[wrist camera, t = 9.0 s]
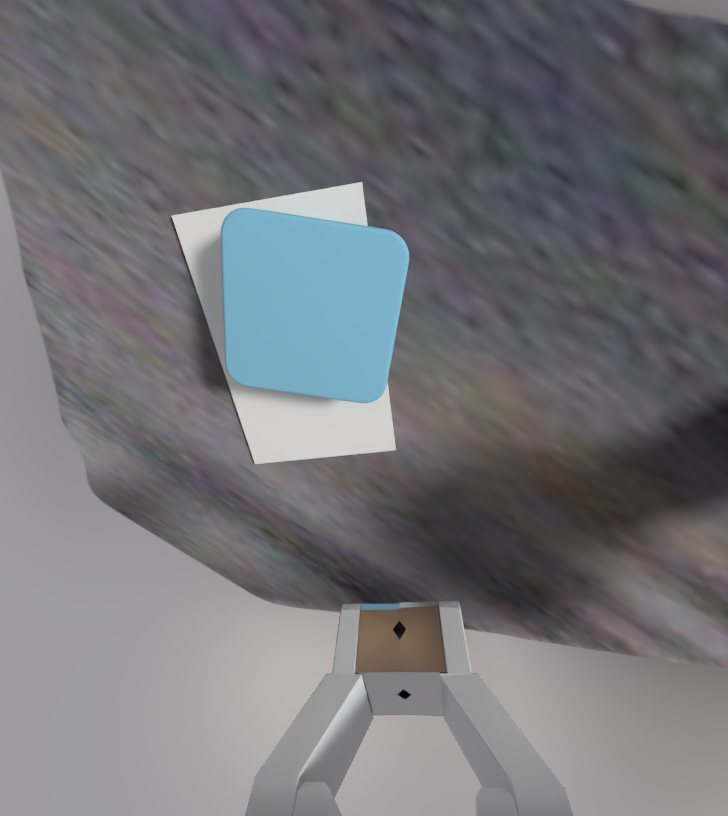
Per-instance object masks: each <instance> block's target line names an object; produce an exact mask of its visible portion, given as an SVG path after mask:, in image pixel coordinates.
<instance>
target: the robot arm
mask: <svg viewBox="0 0 728 816" xmlns="http://www.w3.org/2000/svg"><path fill="white" fill-rule="evenodd" d="M372 715H428V716H444V719H445V721H446V722H447V725H448V726H449V728H450V730H451V732H452V733H453V735H454V737H455V739H456V741H457V742H458V744H459V746H460V747H461V750H462V751H463V753H464V755H465V757H466V758H467V760H468V762H469V764H470V765H471V767H472V769H473V771H474V773H475V774H476V776H477V778H478V779H479V781H480V783H481V785H482V787H483V788H481V789H480V791H479V793H478V794H477V796H476V816H573V814H572V810H571V807H570V803H569V800H568V797H567V794H566V790H565V788H564V787H563V785H562V784H561V783H560V781H559V780H558V779H557V777H556V776H555V775H554V773H553V772H552V771H551V769H550V768H549V767H548V766H547V764H546V763H545V761H544V760H543V759H542V757H541V756H540V755H539V753H538V752H537V751H536V749H535V748H534V747H533V746H532V744H531V743H530V741H529V740H528V739H527V737H526V736H525V735H524V733H523V732H522V731H521V729H520V728H519V727H518V726H517V724H516V723H515V721H514V720H513V719H512V718H511V716H510V715H509V713H508V712H507V711H506V710H505V708H504V707H503V706H502V704H501V703H500V702H499V700H498V699H497V698H496V696H495V695H494V694H493V692H492V691H491V690H490V688H489V687H488V686H487V685H486V683H485V682H484V680H483V679H482V678H481V676H480V675H479V674H478V673H472V672H471V666H470V660H469V654H468V648H467V643H466V637H465V631H464V625H463V620H462V614H461V608H460V604H459V602H458V601H439V602H438V601H425V602H404V603H383V604H343V605H342V608H341V611H340V619H339V626H338V633H337V641H336V648H335V656H334V663H333V670H332V674H326V675H325V677H324V678H323V680H322V681H321V682H320V684H319V685H318V687H317V688H316V690H315V691H314V692H313V694H312V695H311V697H310V698H309V700H308V701H307V703H306V704H305V705H304V707H303V708H302V710H301V711H300V712H299V714H298V715H297V717H296V718H295V720H294V721H293V723H292V724H291V725H290V727H289V728H288V730H287V731H286V733H285V734H284V736H283V737H282V738H281V740H280V741H279V743H278V744H277V746H276V747H275V749H274V750H273V751H272V753H271V754H270V756H269V757H268V758H267V760H266V761H265V763H264V764H263V766H262V767H261V768H260V770H259V772H258V773H257V774H256V776H255V778H254V782H253V786H252V790H251V794H250V798H249V802H248V806H247V810H246V814H245V816H342V815H341V813H340V811H339V808H338V806H337V804H336V802H335V799H334V798H335V796H336V794H337V792H338V790H339V788H340V786H341V783H342V781H343V779H344V777H345V775H346V773H347V771H348V769H349V767H350V765H351V762H352V761H353V759H354V757H355V755H356V753H357V750H358V748H359V746H360V744H361V742H362V740H363V738H364V736H365V734H366V732H367V730H368V728H369V726H370V724H371V721H372V719H373V716H372Z"/></svg>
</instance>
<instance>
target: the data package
mask: <svg viewBox="0 0 728 816" xmlns="http://www.w3.org/2000/svg"><path fill="white" fill-rule="evenodd" d="M221 259H222V287H223V316H224V345H225V366H226V369H227V372H228V374H229V375H230V377H231V378H232V379H233V380H234V381H236V382H237V383H239V384H240V385H243V386H247V387H253V388H260V389H267V390H274V391H281V392H287V393H294V394H301V395H308V396H315V397H322V398H329V399H336V400H343V401H350V402H357V403H370V402H373V401H375V400H377V399H378V398H380V397H381V396H382V394H383V393H384V391H385V389H386V385H387V379H388V374H389V368H390V363H391V357H392V352H393V346H394V341H395V335H396V330H397V324H398V319H399V313H400V308H401V303H402V297H403V292H404V286H405V281H406V275H407V270H408V264H409V251H408V248H407V245H406V243H405V242H404V240H403V239H402V238H401V237H400V236H399V235H398V234H397V233H395V232H393V231H391V230H388V229H382V228H376V227H370V226H363V225H357V224H350V223H344V222H338V221H331V220H325V219H319V218H312V217H306V216H299V215H293V214H287V213H280V212H274V211H268V210H260V209H252V208H238V209H235V210H233V211H231V212H230V213H229V214H228V215H227V216H226V217H225V219H224V221H223V223H222V226H221Z"/></svg>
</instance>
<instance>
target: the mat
mask: <svg viewBox="0 0 728 816" xmlns="http://www.w3.org/2000/svg"><path fill="white" fill-rule="evenodd" d="M238 208H252V209H260V210H268V211H274V212H280V213H287V214H293V215H299V216H306V217H312V218H319V219H325V220H331V221H338V222H344V223H350V224H357V225H363V226H368V225H367V217H366V209H365V201H364V193H363V186H362V182H360V183H354V184H349V185H343V186H337V187H332V188H326V189H320V190H315V191H309V192H303V193H298V194H292V195H286V196H281V197H275V198H269V199H264V200H258V201H252V202H247V203H241V204H235V205H230V206H224V207H218V208H213V209H207V210H201V211H196V212H190V213H184V214H179V215H173V216H172V219H173V222H174V225H175V228H176V231H177V234H178V237H179V240H180V243H181V246H182V249H183V252H184V255H185V258H186V261H187V264H188V267H189V270H190V273H191V276H192V278H193V281H194V284H195V287H196V290H197V293H198V296H199V299H200V302H201V305H202V308H203V311H204V314H205V317H206V320H207V323H208V326H209V329H210V332H211V335H212V338H213V341H214V344H215V347H216V350H217V353H218V356H219V359H220V362H221V365H222V368H223V371H224V374H225V377H226V379H227V382H228V385H229V388H230V391H231V394H232V397H233V400H234V403H235V406H236V409H237V412H238V415H239V418H240V421H241V424H242V427H243V430H244V433H245V436H246V439H247V442H248V445H249V448H250V451H251V454H252V457H253V460H254V463H255V464H261V463H272V462H282V461H292V460H302V459H312V458H322V457H332V456H342V455H352V454H362V453H372V452H382V451H392V450H396V445H395V437H394V429H393V422H392V414H391V406H390V398H389V390H388V382H387V385H386V389H385V391H384V393H383V394H382V396H381V397H380V398H378V399H377V400H375V401H373V402H370V403H357V402H350V401H343V400H336V399H329V398H322V397H315V396H308V395H301V394H294V393H287V392H281V391H274V390H267V389H260V388H253V387H247V386H243V385H240V384H239V383H237V382H236V381H234V380H233V379H232V378H231V377H230V375H229V374H228V372H227V369H226V366H225V345H224V316H223V287H222V259H221V226H222V223H223V221H224V219H225V217H226V216H227V215H228V214H229V213H230V212H231V211H233V210H235V209H238Z"/></svg>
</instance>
